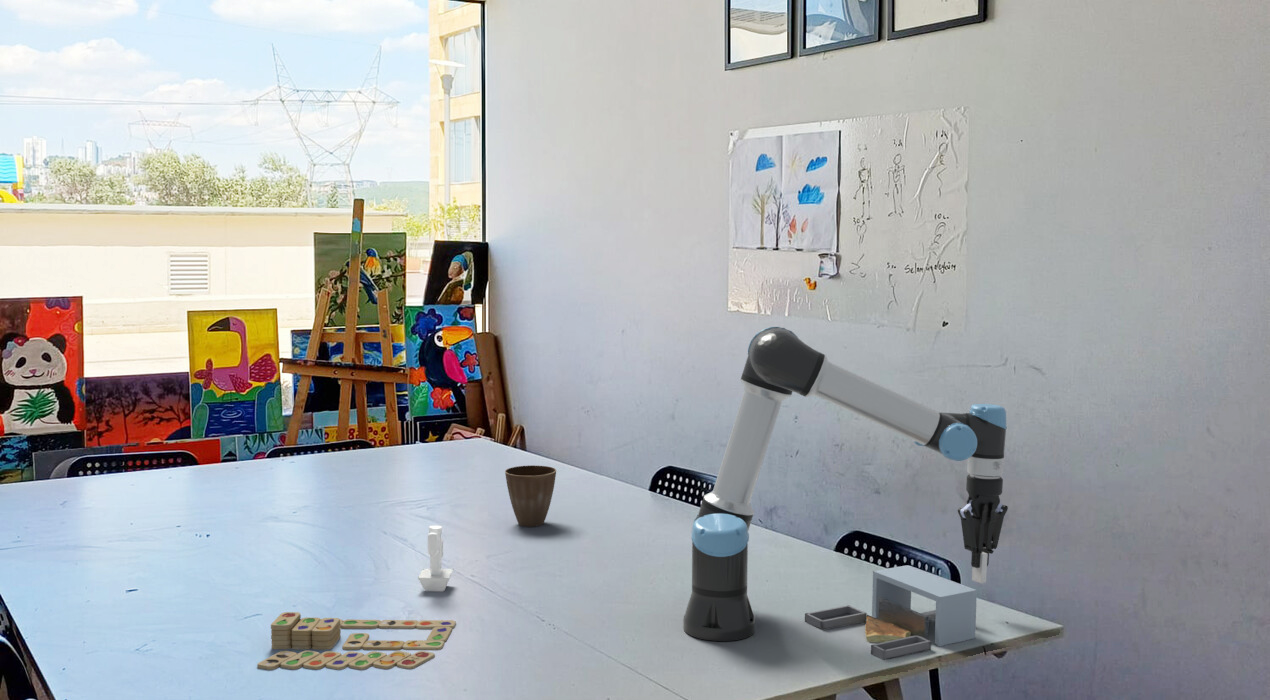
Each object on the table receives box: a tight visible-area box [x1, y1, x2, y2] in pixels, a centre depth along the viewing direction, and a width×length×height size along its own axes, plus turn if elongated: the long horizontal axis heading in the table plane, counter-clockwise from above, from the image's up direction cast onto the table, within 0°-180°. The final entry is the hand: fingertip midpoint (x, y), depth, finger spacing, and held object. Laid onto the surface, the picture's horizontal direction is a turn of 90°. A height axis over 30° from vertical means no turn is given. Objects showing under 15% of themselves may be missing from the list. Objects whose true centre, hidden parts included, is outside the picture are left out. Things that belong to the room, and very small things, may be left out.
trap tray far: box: [804, 604, 868, 631], centre depth 235 cm, size 12×6×2 cm, turn 118°
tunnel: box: [871, 565, 978, 647], centre depth 231 cm, size 10×20×10 cm, turn 28°
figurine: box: [417, 525, 454, 592], centre depth 256 cm, size 7×9×15 cm
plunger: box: [878, 598, 936, 640], centre depth 232 cm, size 16×14×6 cm
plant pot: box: [504, 464, 557, 528], centre depth 318 cm, size 15×15×16 cm
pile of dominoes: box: [256, 611, 457, 671], centre depth 220 cm, size 35×27×6 cm
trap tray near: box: [870, 635, 932, 661], centre depth 217 cm, size 12×4×2 cm, turn 118°
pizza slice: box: [864, 614, 911, 643], centre depth 228 cm, size 13×9×2 cm
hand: (978, 581), depth 239 cm, fingers closed
